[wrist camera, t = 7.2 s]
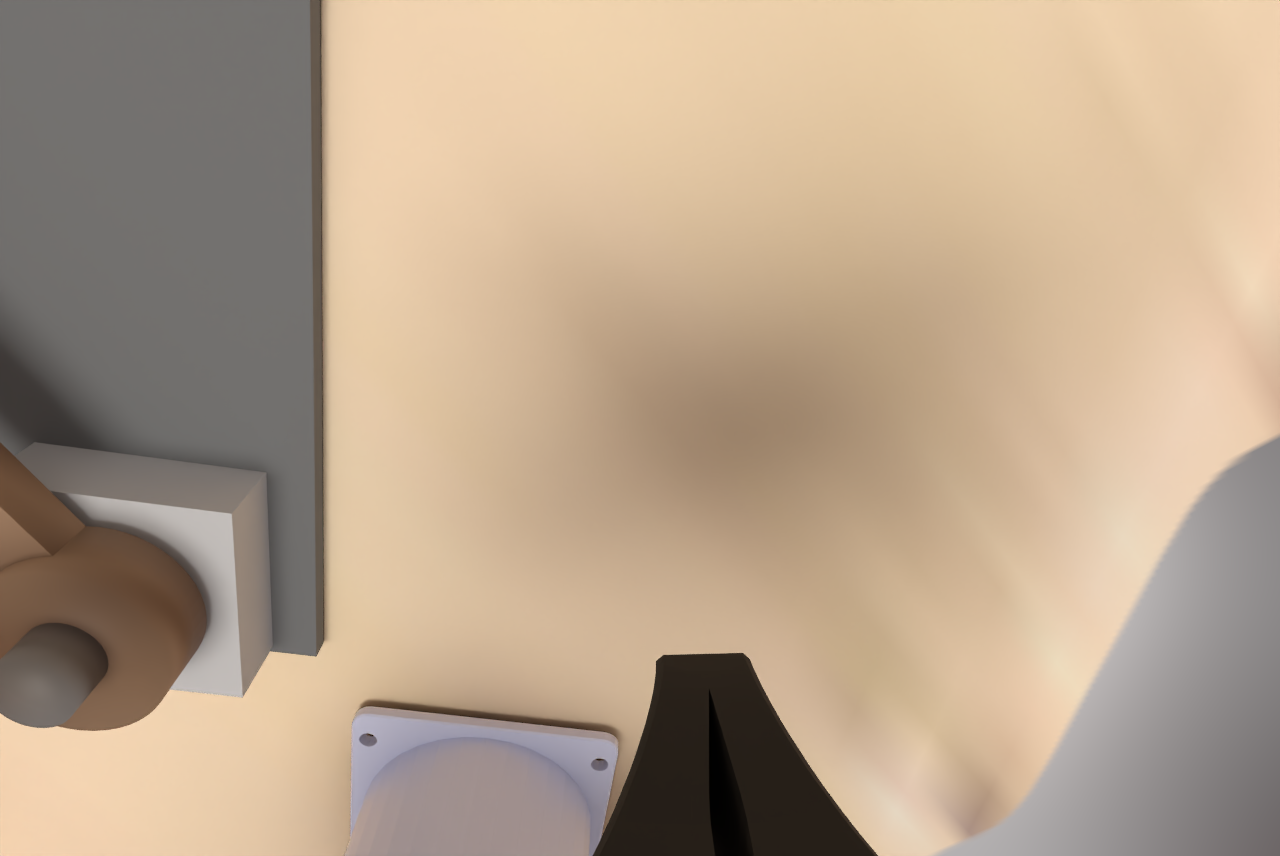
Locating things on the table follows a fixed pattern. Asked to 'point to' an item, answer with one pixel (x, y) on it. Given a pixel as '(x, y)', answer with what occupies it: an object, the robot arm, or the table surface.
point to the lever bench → (172, 295)
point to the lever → (85, 614)
